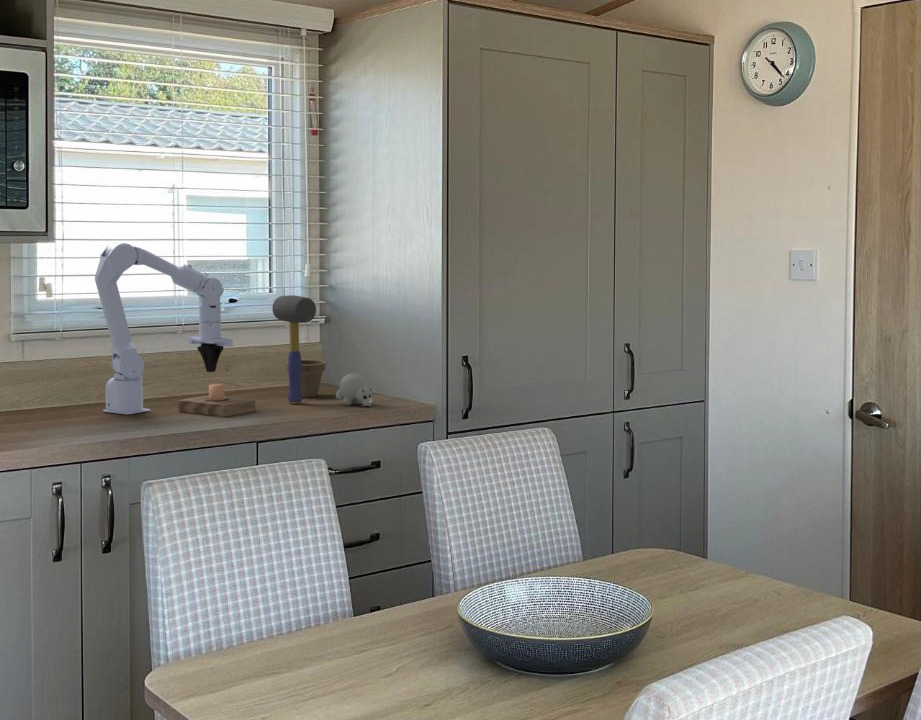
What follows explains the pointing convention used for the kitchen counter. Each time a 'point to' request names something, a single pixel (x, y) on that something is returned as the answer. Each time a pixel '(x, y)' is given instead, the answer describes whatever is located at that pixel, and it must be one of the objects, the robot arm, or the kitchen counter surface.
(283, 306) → the rubber mallet
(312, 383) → the flower pot
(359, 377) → the chubby cartoon animal
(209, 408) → the socket board
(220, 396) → the peg
